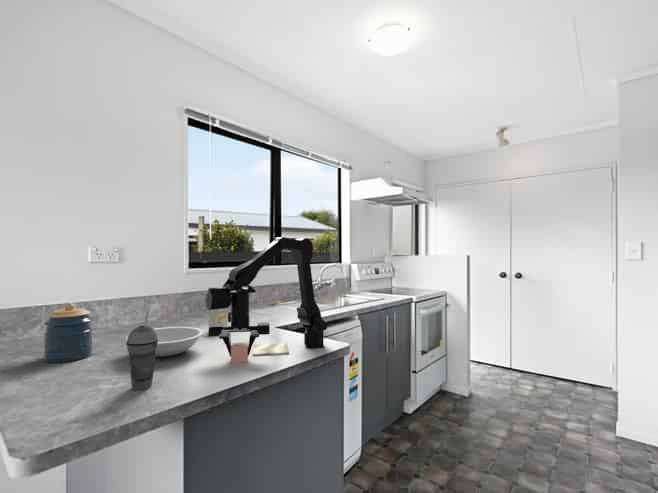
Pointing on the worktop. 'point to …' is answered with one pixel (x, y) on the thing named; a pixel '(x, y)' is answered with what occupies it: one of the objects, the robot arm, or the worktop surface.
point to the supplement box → (218, 317)
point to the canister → (68, 335)
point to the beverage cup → (142, 355)
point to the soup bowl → (175, 339)
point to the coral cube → (239, 352)
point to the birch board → (270, 349)
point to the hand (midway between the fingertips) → (239, 356)
